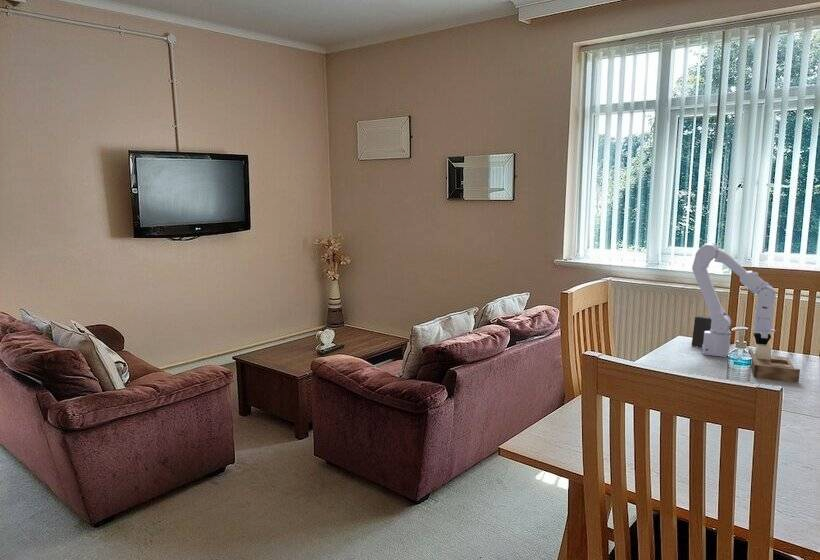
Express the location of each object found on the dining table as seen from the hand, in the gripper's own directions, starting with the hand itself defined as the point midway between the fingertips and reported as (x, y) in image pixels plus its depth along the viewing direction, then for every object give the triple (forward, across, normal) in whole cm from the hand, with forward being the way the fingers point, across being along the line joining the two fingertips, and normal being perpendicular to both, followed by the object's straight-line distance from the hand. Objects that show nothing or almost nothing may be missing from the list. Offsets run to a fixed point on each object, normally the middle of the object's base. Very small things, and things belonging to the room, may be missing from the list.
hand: (760, 352), depth 218 cm
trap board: (+3, -12, -3) cm, 13 cm away
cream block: (+1, -4, 0) cm, 4 cm away
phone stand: (+3, +14, +20) cm, 24 cm away
